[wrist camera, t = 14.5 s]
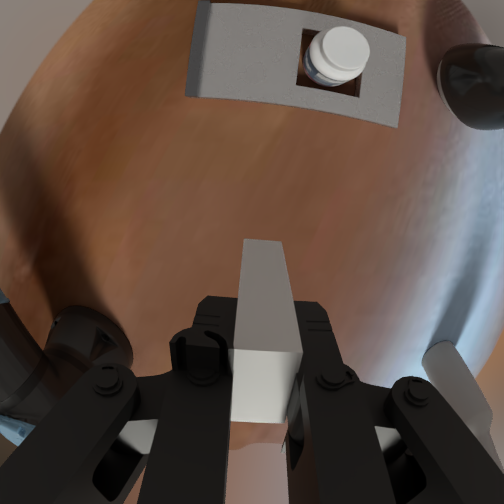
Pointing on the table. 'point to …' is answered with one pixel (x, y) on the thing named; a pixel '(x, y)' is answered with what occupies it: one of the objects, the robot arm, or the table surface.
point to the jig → (288, 61)
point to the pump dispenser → (474, 84)
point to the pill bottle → (336, 56)
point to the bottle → (461, 392)
